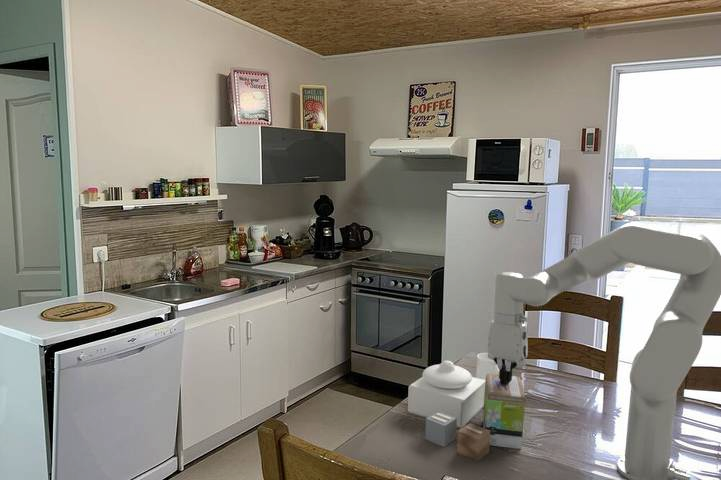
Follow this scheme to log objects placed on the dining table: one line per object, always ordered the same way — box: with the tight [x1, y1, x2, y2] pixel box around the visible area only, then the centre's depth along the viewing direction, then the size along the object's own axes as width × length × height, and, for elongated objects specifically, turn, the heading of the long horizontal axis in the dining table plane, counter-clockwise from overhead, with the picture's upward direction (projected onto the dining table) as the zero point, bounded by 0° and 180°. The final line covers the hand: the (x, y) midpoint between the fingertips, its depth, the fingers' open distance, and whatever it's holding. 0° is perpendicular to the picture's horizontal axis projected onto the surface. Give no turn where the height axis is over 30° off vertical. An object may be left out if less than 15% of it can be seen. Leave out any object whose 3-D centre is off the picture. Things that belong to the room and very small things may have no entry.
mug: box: [475, 352, 499, 380], centre depth 177 cm, size 9×12×11 cm
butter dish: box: [407, 359, 486, 429], centre depth 161 cm, size 18×18×16 cm
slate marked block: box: [425, 411, 458, 448], centre depth 143 cm, size 6×6×6 cm
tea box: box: [482, 374, 526, 450], centre depth 146 cm, size 15×10×15 cm, turn 168°
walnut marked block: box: [456, 422, 491, 462], centre depth 137 cm, size 6×6×6 cm
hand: (505, 382), depth 145 cm, fingers closed
